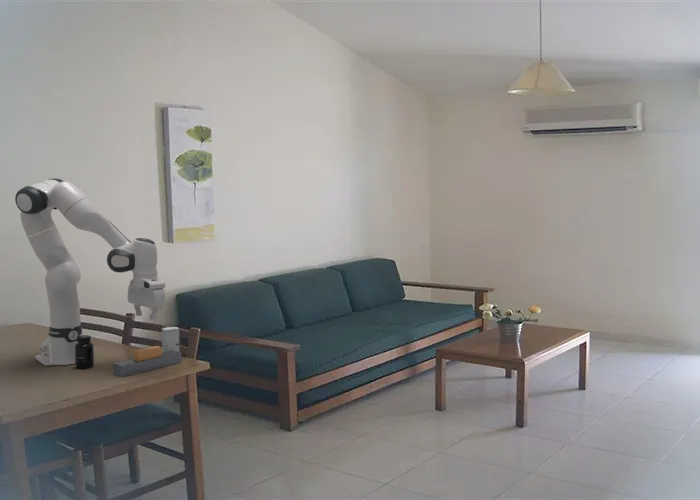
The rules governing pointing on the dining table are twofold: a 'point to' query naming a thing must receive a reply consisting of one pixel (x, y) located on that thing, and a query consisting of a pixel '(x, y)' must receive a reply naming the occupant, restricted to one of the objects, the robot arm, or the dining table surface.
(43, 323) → the dining table surface
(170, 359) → the rail
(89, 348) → the supplement bottle
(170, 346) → the skincare box
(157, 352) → the clip
